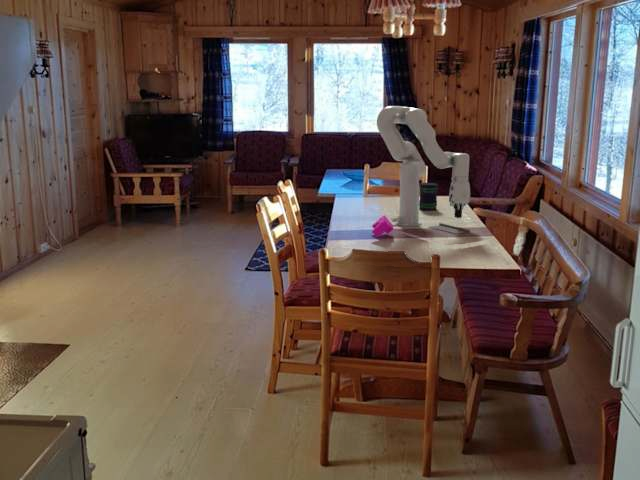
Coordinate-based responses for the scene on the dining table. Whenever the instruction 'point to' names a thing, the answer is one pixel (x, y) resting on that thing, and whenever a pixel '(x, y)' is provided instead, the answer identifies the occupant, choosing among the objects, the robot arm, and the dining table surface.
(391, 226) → the toy block
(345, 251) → the dining table surface
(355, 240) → the dining table surface
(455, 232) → the felt mat
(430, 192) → the storage jar
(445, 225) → the stop rail
